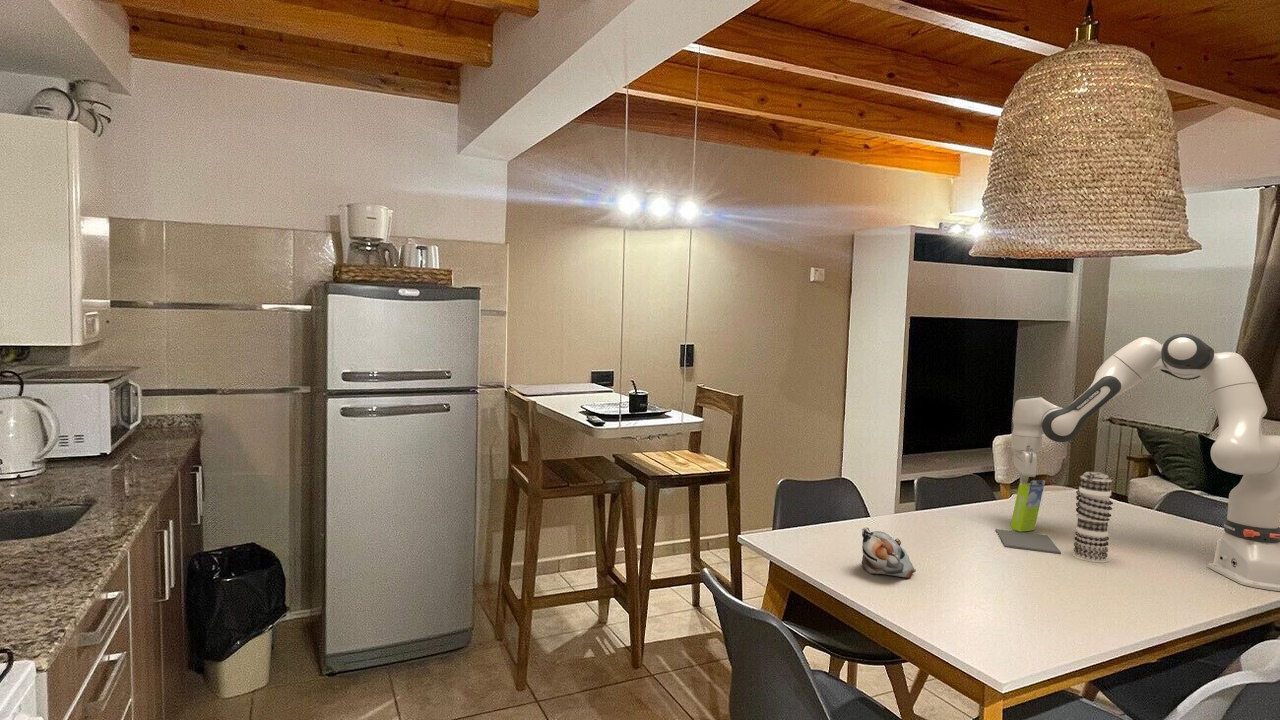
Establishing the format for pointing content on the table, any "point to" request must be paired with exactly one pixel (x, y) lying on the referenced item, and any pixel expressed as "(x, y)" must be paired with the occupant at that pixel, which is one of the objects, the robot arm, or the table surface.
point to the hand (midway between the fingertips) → (1023, 485)
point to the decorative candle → (1093, 517)
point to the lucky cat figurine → (884, 555)
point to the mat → (1027, 541)
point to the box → (1027, 506)
